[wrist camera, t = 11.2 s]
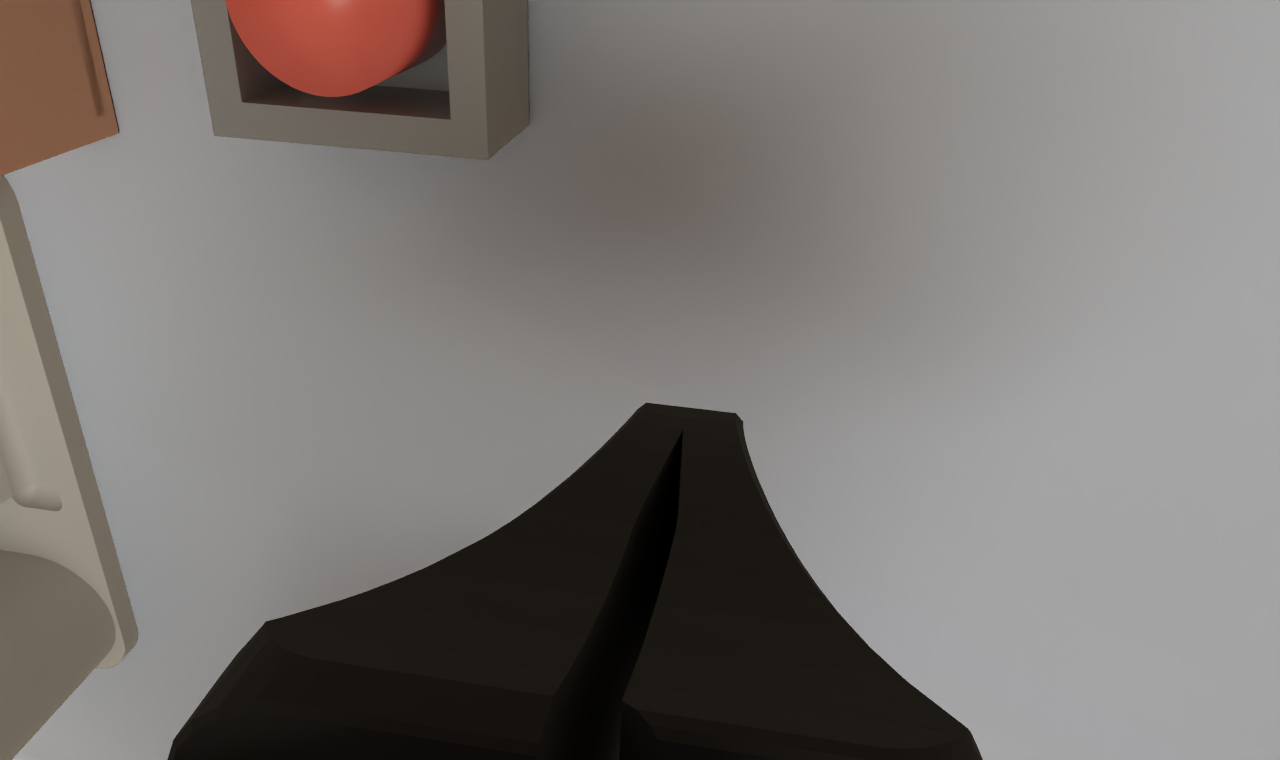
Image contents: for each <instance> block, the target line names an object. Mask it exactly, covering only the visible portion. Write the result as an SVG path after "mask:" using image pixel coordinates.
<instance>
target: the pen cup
mask: <svg viewBox="0 0 1280 760" xmlns="http://www.w3.org/2000/svg"><path fill="white" fill-rule="evenodd" d="M117 133H119V131H118V127H117V122H116V118H115V113H114V109H113V104H112V100H111V95H110V91H109V86H108V82H107V77H106V73H105V68H104V64H103V59H102V55H101V50H100V46H99V41H98V37H97V32H96V28H95V23H94V19H93V14H92V10H91V5H90V1H89V0H0V176H2V175H4V174H7V173H10V172H13V171H15V170H18V169H21V168H24V167H26V166H29V165H32V164H35V163H37V162H40V161H43V160H46V159H48V158H51V157H54V156H57V155H59V154H62V153H65V152H68V151H70V150H73V149H76V148H79V147H81V146H84V145H87V144H90V143H92V142H95V141H98V140H101V139H103V138H106V137H109V136H112V135H114V134H117Z"/></svg>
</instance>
